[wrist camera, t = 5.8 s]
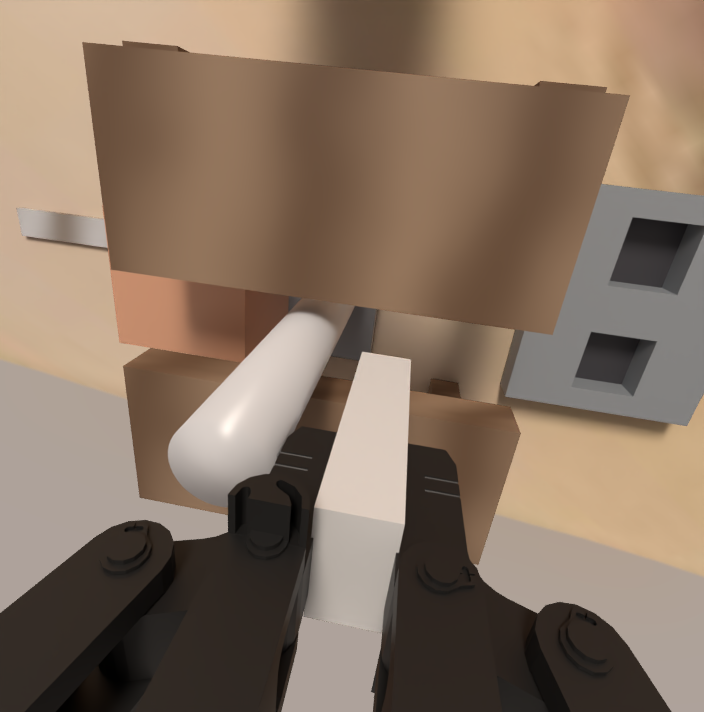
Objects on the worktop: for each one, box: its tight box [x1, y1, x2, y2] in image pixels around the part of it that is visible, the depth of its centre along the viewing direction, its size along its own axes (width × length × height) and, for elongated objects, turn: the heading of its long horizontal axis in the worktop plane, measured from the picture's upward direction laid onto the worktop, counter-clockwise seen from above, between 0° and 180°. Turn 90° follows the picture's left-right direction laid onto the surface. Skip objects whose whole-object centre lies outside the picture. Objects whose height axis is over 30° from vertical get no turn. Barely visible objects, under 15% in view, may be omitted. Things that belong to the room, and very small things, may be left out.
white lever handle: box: [102, 206, 377, 507], centre depth 20 cm, size 16×12×21 cm
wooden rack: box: [17, 41, 630, 565], centre depth 23 cm, size 36×19×15 cm, turn 84°
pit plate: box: [500, 184, 704, 426], centre depth 27 cm, size 12×14×2 cm
